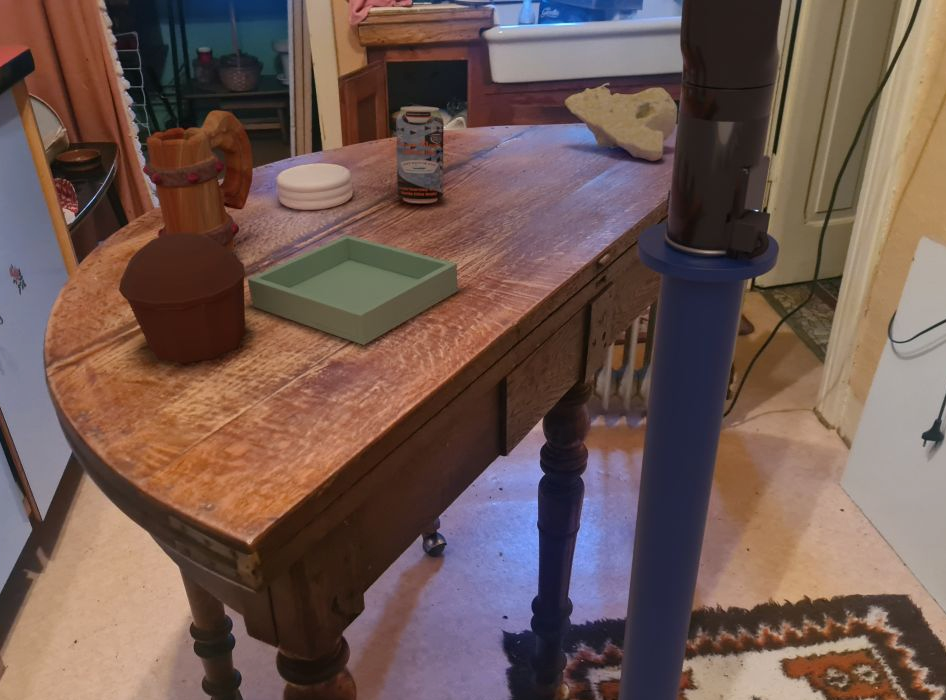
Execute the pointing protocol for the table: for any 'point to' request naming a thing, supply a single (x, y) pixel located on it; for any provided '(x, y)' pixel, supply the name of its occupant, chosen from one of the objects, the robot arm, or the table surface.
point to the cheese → (627, 119)
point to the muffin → (186, 297)
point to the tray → (354, 287)
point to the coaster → (314, 186)
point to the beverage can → (419, 154)
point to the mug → (201, 177)
